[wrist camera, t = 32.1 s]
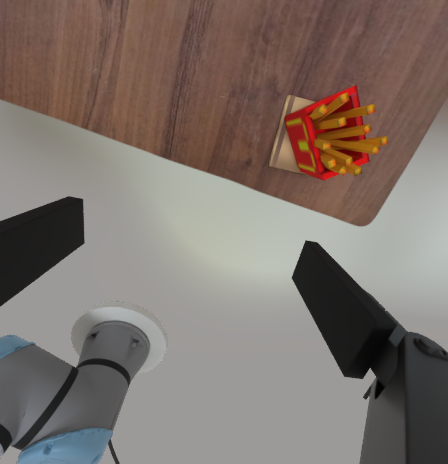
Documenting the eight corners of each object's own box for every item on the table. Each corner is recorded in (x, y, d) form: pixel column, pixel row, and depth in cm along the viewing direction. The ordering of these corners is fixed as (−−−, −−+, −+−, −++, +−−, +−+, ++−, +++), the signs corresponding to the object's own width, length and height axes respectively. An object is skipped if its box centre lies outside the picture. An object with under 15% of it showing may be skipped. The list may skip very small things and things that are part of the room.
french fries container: (295, 172, 39) (332, 187, 26) (279, 118, 36) (313, 106, 23) (334, 155, 38) (393, 163, 25) (321, 99, 35) (382, 74, 22)
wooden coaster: (325, 178, 41) (327, 179, 40) (267, 165, 39) (268, 166, 39) (350, 111, 37) (353, 110, 36) (286, 95, 35) (288, 94, 35)
